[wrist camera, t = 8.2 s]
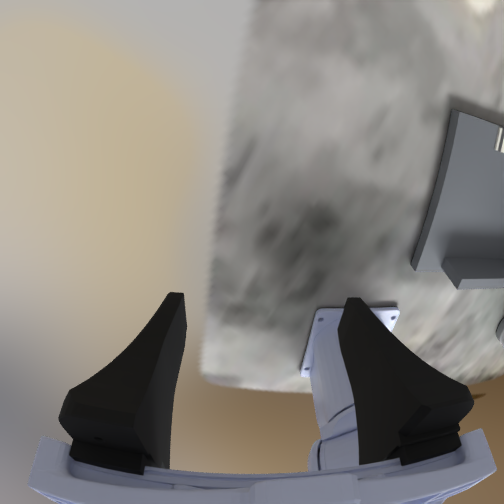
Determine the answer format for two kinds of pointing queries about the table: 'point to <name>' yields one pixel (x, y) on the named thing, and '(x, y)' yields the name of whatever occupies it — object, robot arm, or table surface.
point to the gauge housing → (467, 207)
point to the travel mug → (501, 333)
